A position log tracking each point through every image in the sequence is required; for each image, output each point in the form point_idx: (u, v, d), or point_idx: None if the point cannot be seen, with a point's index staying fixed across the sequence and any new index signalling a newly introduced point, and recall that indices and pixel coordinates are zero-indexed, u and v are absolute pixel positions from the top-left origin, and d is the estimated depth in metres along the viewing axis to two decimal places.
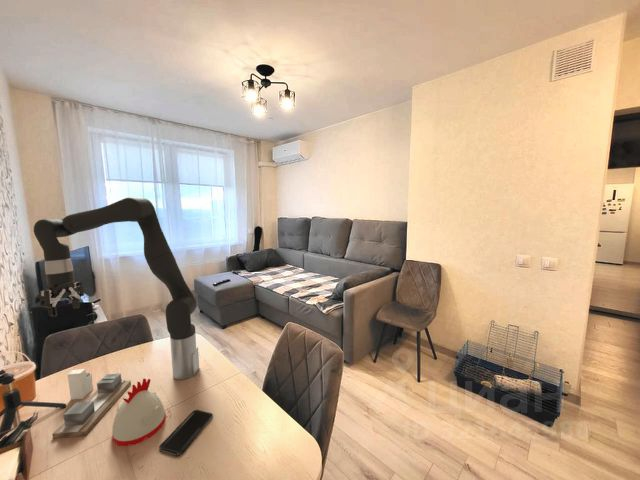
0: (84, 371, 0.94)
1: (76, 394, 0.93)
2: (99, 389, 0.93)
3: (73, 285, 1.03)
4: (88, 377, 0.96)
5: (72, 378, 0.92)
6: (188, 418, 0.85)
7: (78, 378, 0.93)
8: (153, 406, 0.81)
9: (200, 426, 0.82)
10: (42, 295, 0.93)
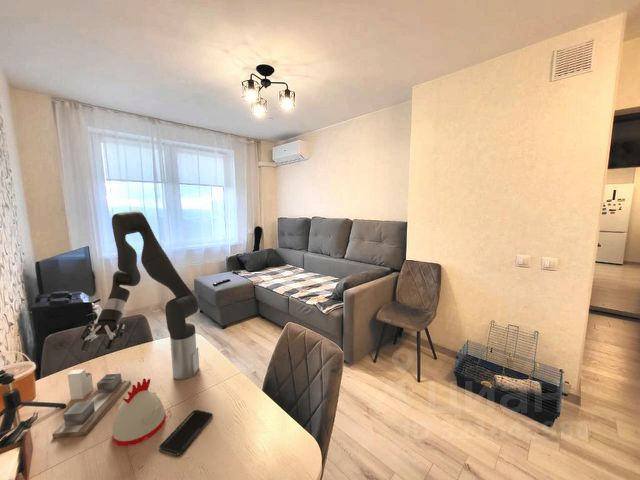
0: (84, 371, 0.94)
1: (76, 394, 0.93)
2: (99, 389, 0.93)
3: (113, 325, 1.08)
4: (88, 377, 0.96)
5: (72, 378, 0.92)
6: (188, 418, 0.85)
7: (78, 378, 0.93)
8: (153, 406, 0.81)
9: (200, 426, 0.82)
10: None
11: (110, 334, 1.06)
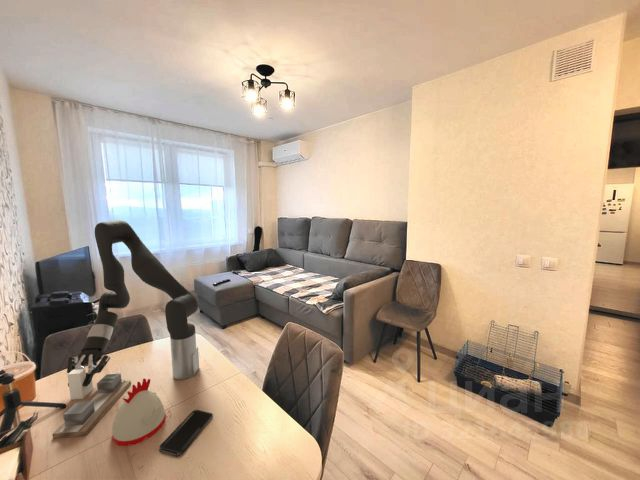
0: (84, 371, 0.94)
1: (76, 394, 0.93)
2: (99, 389, 0.93)
3: (98, 354, 1.00)
4: None
5: (72, 378, 0.92)
6: (188, 418, 0.85)
7: (78, 378, 0.93)
8: (153, 406, 0.81)
9: (200, 426, 0.82)
10: None
11: (90, 367, 0.97)
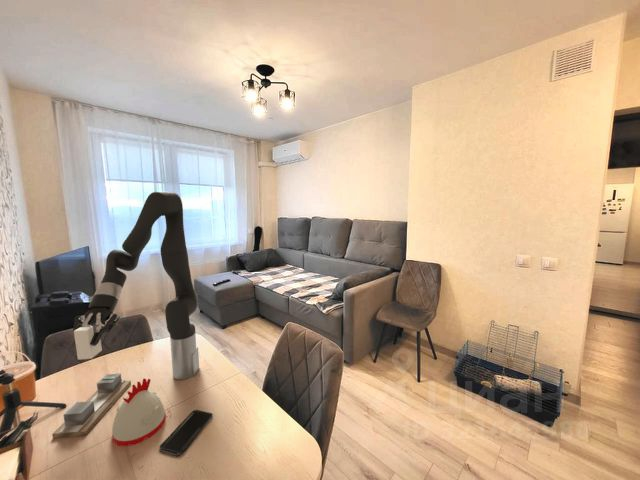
0: (92, 329, 0.86)
1: (83, 353, 0.85)
2: (99, 389, 0.93)
3: (107, 313, 0.92)
4: None
5: (78, 335, 0.84)
6: (188, 418, 0.85)
7: (85, 336, 0.84)
8: (153, 406, 0.81)
9: (200, 426, 0.82)
10: None
11: (98, 325, 0.89)
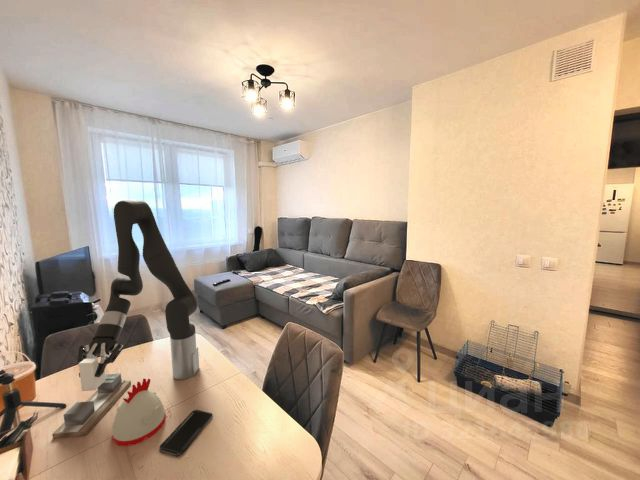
0: (96, 360, 0.87)
1: (87, 385, 0.86)
2: (99, 389, 0.93)
3: (111, 343, 0.92)
4: None
5: (83, 368, 0.85)
6: (188, 418, 0.85)
7: (90, 368, 0.85)
8: (153, 406, 0.81)
9: (200, 426, 0.82)
10: None
11: (103, 356, 0.89)
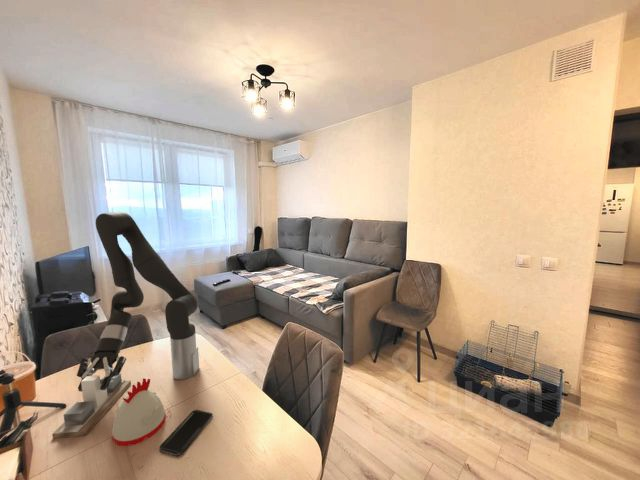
0: (98, 378, 0.88)
1: None
2: None
3: (113, 357, 0.93)
4: None
5: (85, 385, 0.86)
6: (188, 418, 0.85)
7: (92, 386, 0.86)
8: (153, 406, 0.81)
9: (200, 426, 0.82)
10: None
11: (107, 369, 0.90)
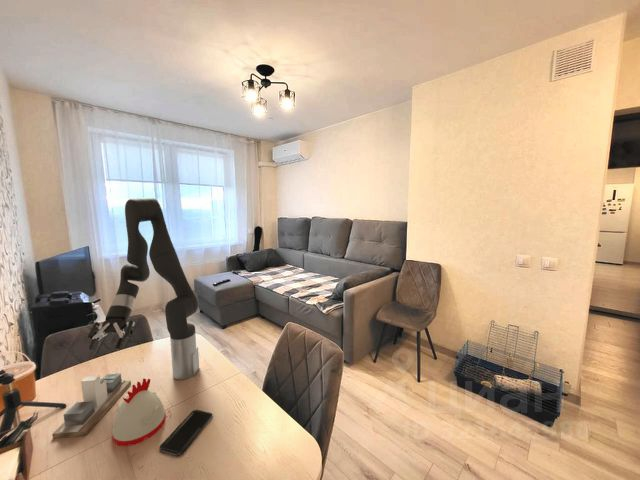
0: (98, 378, 0.88)
1: None
2: None
3: (123, 322, 1.00)
4: (103, 384, 0.90)
5: (85, 385, 0.86)
6: (188, 418, 0.85)
7: (92, 386, 0.86)
8: (153, 406, 0.81)
9: (200, 426, 0.82)
10: None
11: (120, 332, 0.98)
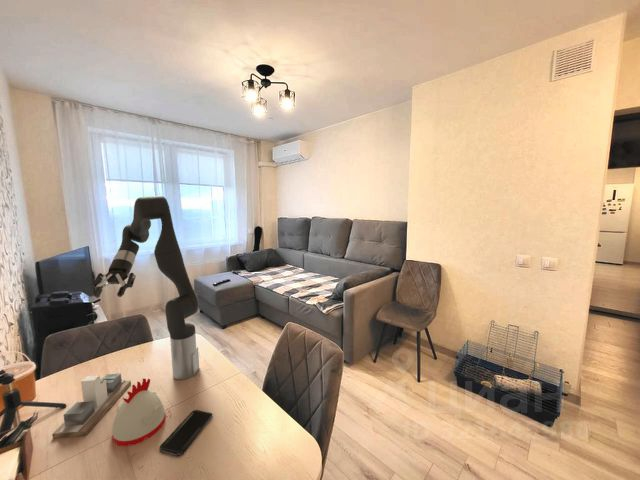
0: (98, 378, 0.88)
1: None
2: None
3: (124, 274, 1.11)
4: (103, 384, 0.90)
5: (85, 385, 0.86)
6: (188, 418, 0.85)
7: (92, 386, 0.86)
8: (153, 406, 0.81)
9: (200, 426, 0.82)
10: None
11: (121, 282, 1.08)
